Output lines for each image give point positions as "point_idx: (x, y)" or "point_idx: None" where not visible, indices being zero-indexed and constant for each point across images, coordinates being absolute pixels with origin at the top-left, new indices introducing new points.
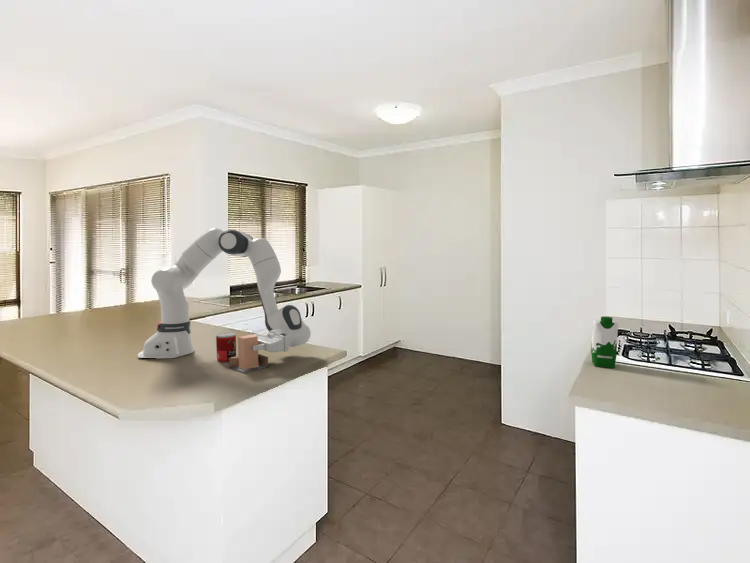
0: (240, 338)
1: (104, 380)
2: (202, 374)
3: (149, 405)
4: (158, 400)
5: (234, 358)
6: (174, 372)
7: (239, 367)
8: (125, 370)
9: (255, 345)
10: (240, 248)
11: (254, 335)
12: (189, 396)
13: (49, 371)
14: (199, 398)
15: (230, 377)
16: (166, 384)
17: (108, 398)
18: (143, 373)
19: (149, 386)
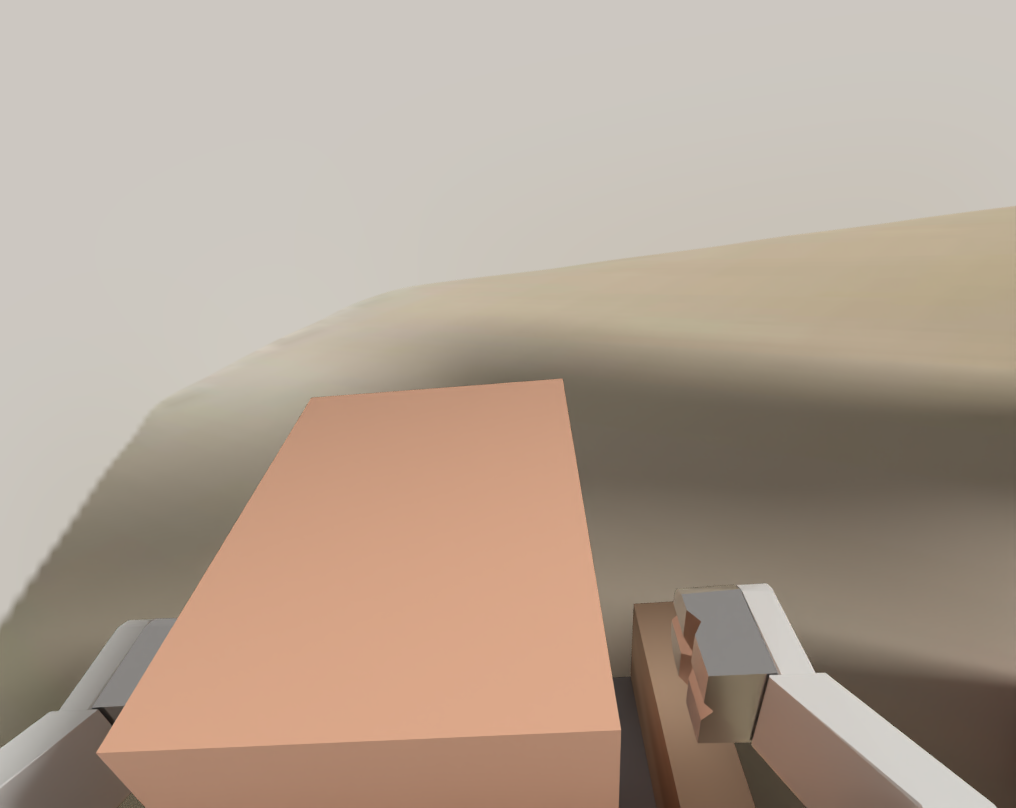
0: (453, 401)
1: (777, 266)
2: (612, 468)
3: (368, 312)
4: (386, 325)
5: (640, 647)
6: (771, 390)
7: None
8: (930, 294)
9: (115, 666)
10: None
11: (345, 731)
12: (314, 374)
13: (999, 210)
14: (250, 389)
15: None
16: (557, 351)
17: (541, 272)
18: (828, 322)
19: (580, 322)
